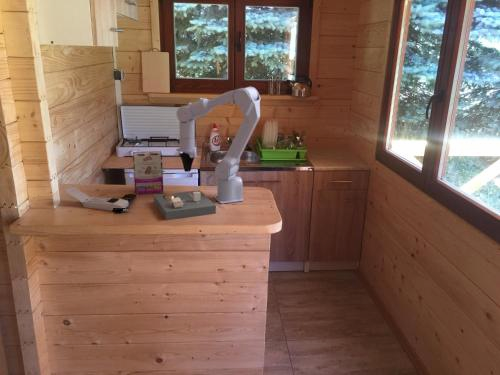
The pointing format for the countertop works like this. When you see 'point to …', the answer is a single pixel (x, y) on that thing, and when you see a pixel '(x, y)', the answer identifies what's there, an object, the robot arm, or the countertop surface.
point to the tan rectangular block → (196, 196)
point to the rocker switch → (177, 202)
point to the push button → (169, 196)
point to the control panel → (184, 205)
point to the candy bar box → (148, 172)
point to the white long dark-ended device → (97, 200)
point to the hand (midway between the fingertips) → (187, 171)
